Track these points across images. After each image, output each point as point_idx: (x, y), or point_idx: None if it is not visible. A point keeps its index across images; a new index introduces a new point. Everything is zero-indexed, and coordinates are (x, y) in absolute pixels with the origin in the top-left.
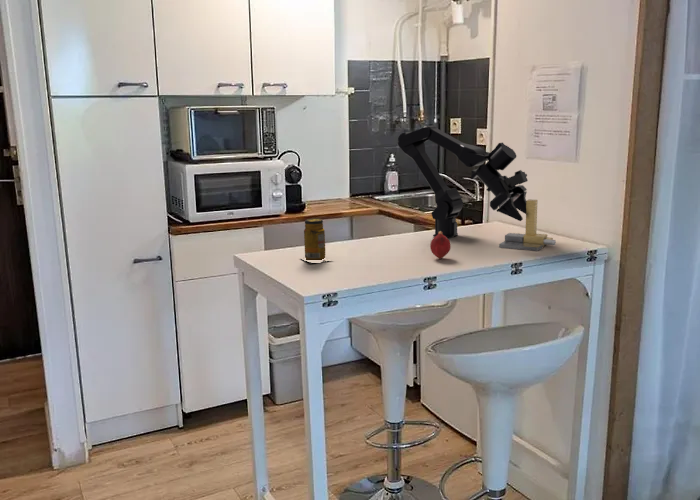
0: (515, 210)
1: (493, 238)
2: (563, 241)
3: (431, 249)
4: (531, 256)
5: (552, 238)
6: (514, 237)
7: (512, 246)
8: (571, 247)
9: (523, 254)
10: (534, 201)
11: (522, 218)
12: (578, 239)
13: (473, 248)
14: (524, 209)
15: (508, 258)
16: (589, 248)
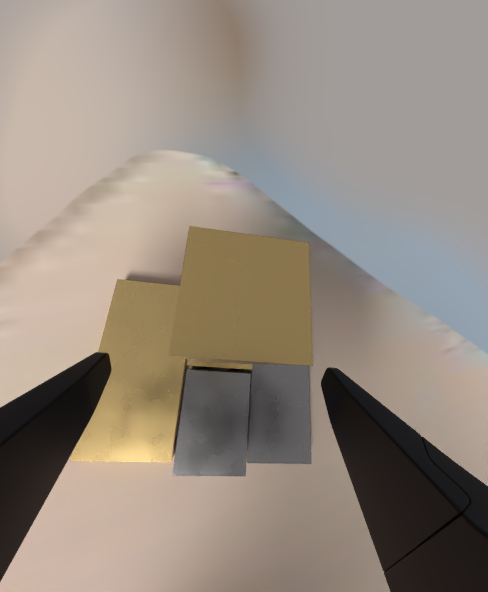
0: (422, 440)
1: (118, 577)
2: (122, 248)
3: None
4: (375, 306)
5: (122, 280)
6: (247, 415)
7: (307, 396)
8: (213, 218)
9: (365, 334)
10: (308, 250)
11: (335, 369)
12: (74, 207)
13: (372, 572)
14: (60, 438)
15: (433, 365)
16: (211, 176)
